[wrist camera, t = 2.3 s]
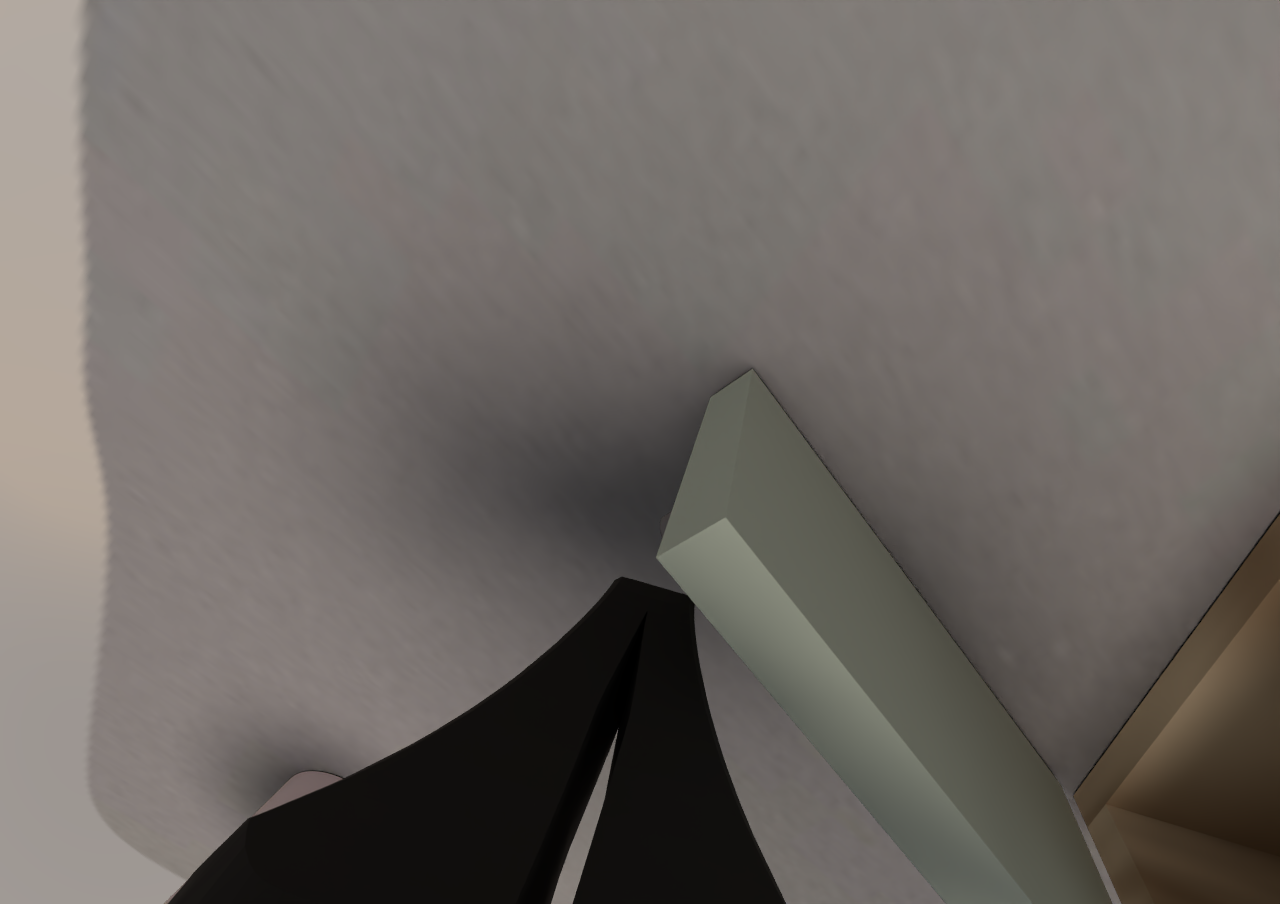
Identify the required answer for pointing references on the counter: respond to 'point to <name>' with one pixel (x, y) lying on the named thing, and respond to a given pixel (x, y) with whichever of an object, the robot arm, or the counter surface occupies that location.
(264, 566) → the counter surface
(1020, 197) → the counter surface
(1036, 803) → the door
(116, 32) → the counter surface
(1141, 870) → the wooden box
